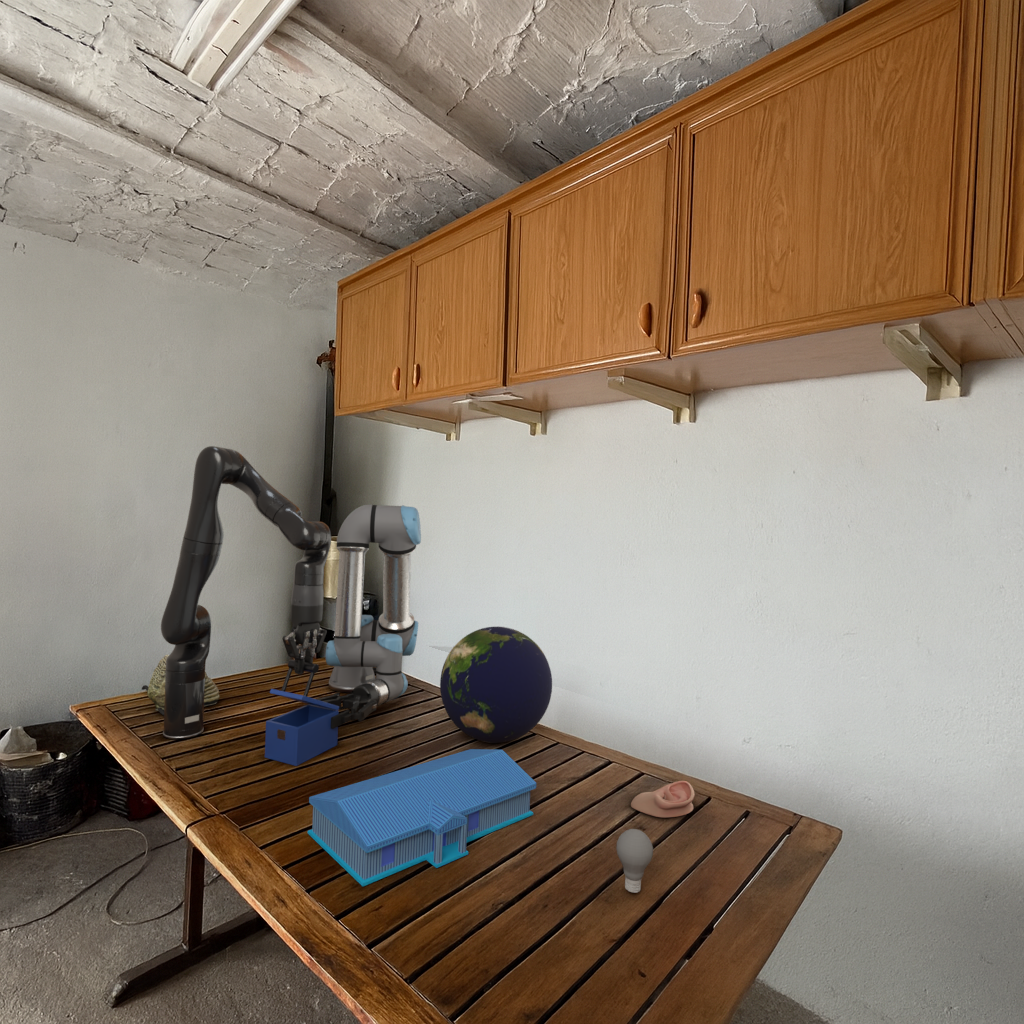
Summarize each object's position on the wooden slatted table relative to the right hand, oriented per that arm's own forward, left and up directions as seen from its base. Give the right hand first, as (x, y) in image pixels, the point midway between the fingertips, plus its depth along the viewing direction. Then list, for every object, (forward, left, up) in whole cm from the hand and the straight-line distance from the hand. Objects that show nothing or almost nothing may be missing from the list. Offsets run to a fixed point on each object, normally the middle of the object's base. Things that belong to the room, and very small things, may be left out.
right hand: (315, 719), depth 161 cm
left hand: (+5, -2, +13) cm, 14 cm away
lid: (+4, -2, +6) cm, 7 cm away
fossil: (-25, -45, -7) cm, 52 cm away
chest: (+4, -2, -7) cm, 8 cm away
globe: (-8, +46, -7) cm, 47 cm away
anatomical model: (+27, +82, -7) cm, 87 cm away
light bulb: (+57, +69, -7) cm, 90 cm away
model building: (+38, +33, -7) cm, 51 cm away
